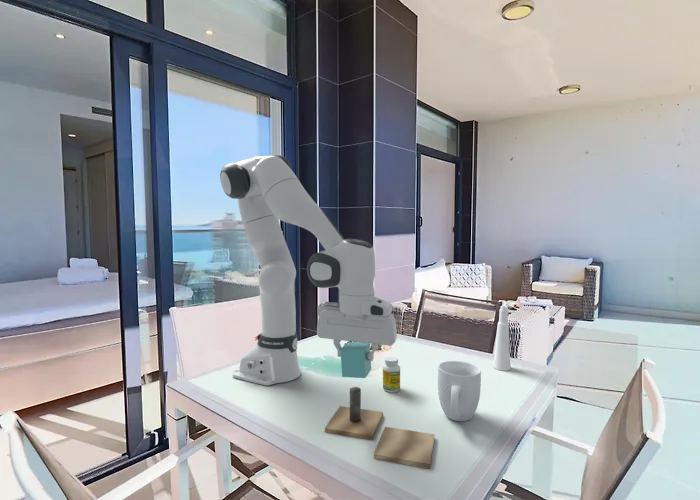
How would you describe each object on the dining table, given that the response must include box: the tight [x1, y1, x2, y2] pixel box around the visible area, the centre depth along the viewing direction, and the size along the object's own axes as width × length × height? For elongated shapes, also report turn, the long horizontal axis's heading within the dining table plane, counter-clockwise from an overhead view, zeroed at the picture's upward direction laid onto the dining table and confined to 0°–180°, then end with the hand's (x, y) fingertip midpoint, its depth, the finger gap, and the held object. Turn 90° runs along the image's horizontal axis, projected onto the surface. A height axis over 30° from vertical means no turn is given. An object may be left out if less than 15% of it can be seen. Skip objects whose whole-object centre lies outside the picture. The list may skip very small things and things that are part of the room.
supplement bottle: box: [382, 356, 401, 393], centre depth 121 cm, size 5×5×10 cm
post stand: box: [324, 386, 384, 441], centre depth 100 cm, size 12×12×9 cm
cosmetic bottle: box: [492, 305, 512, 372], centre depth 138 cm, size 6×6×22 cm
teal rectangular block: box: [340, 341, 372, 379], centre depth 100 cm, size 6×6×7 cm
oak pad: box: [373, 426, 436, 469], centre depth 90 cm, size 12×12×1 cm
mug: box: [437, 360, 482, 423], centre depth 103 cm, size 15×11×13 cm
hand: (355, 358), depth 100 cm, fingers closed on teal rectangular block, 6 cm apart
